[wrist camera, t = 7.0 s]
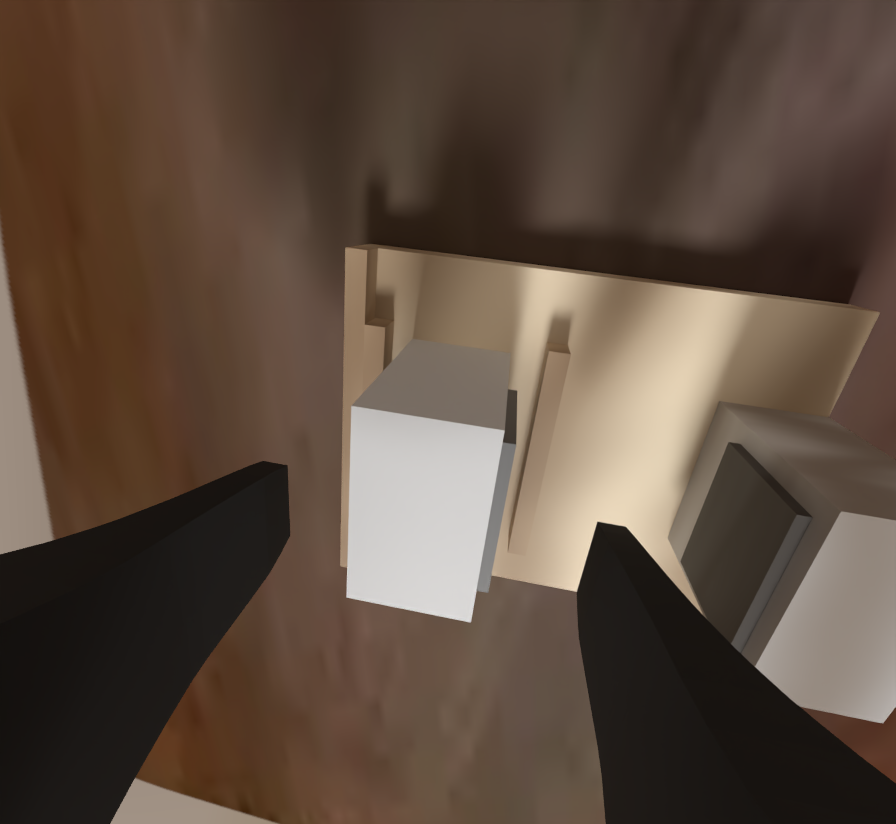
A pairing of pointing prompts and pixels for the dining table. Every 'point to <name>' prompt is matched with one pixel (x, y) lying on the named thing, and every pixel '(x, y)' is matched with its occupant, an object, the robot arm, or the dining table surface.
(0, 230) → the dining table surface
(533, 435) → the cream tray
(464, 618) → the white rectangular box
